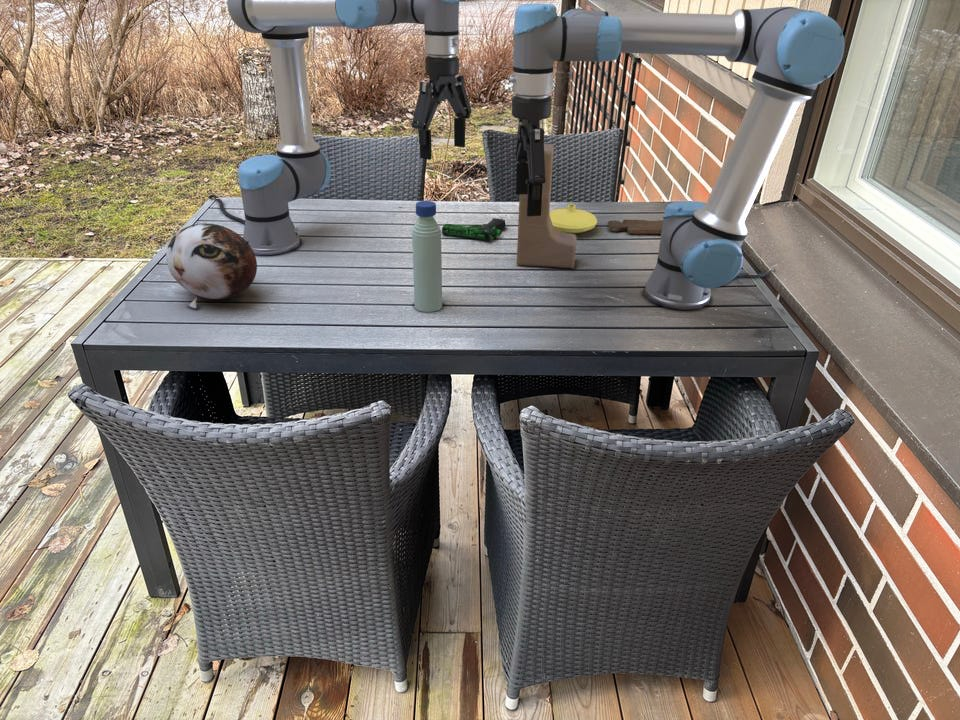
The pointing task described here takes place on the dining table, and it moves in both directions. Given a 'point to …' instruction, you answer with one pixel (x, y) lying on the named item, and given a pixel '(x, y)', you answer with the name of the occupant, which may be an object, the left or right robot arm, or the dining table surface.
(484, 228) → the handgun
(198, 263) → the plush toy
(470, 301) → the dining table surface
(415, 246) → the bottle
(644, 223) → the wooden paddle board
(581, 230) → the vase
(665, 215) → the right robot arm
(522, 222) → the decorative block
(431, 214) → the cap
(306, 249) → the dining table surface
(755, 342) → the dining table surface
